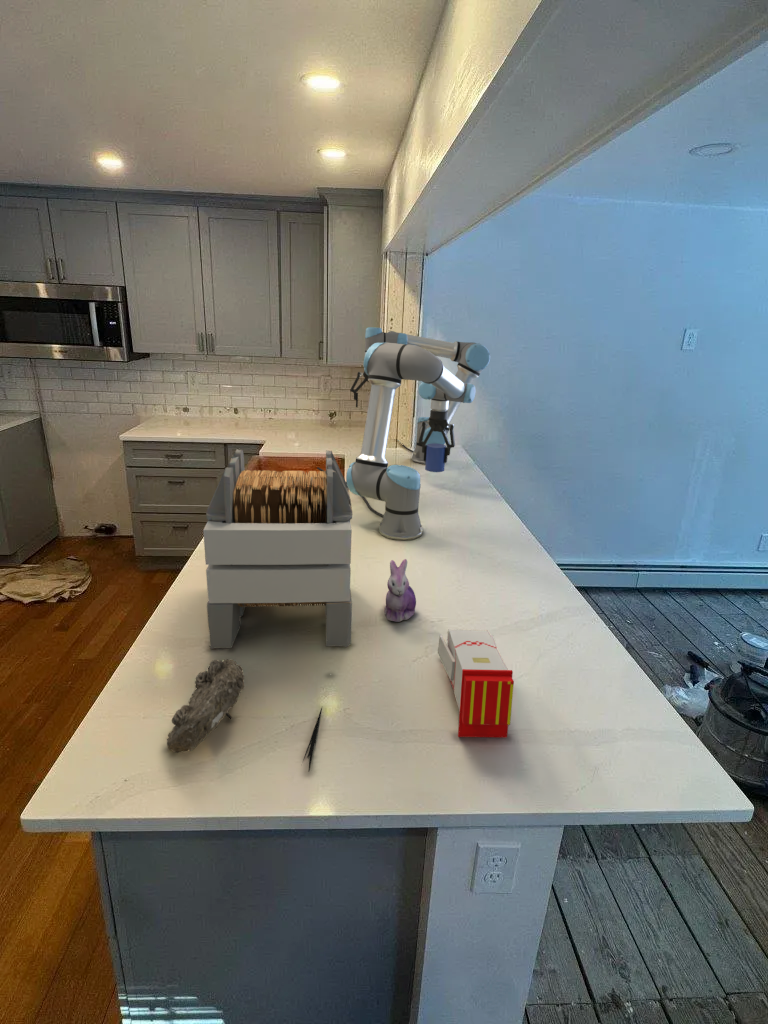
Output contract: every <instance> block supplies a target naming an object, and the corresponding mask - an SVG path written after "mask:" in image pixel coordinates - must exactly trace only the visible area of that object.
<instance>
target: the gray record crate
mask: <svg viewBox="0 0 768 1024" xmlns="http://www.w3.org/2000/svg"><path fill="white" fill-rule="evenodd" d="M307 471H308V470H307ZM307 471H305V470H282V471H276V470H264V469H263V470H262V469H261V470H256V469H255V470H254V469H253V470H249V469H245V454H244V449H238V448H237V449H235V451H234V454H233V456H231V458H230V460H229V462H228V465H227V467H225V468H224V471H223V473H222V475H221V477H220V480H219V481H218V484H217V487H216V489H215V491H214V493H213V496H212V498H211V500H210V502H209V504H208V506H207V509H206V512H205V516H206V520H207V521H206V524H205V526H204V527H203V530H202V531H203V545H204V559H205V561H204V562H205V565H206V566H207V567H206V570H205V574H206V575H205V576H206V588H207V589H206V590H207V603H206V611H207V612H206V614H207V626H208V634H209V645H208V647H209V648H210V649H212V650H216V649H232V648H233V645H234V643H235V640H236V638H237V635H238V633H239V631H240V628H241V625H242V623H241V617H244V614H245V613H244V612H245V610H246V607H248V608H249V607H252V608H253V607H254V608H255V607H258V608H259V607H260V608H261V607H300V606H301V607H307V606H309V607H310V606H312V607H315V606H316V607H317V606H319V607H320V606H324V607H325V608H324V609H325V647H345V648H347V647H349V646H350V645H352V620H353V617H352V616H353V614H352V613H353V600H352V592H351V571H352V570H351V564H352V563H351V562H352V561H351V560H352V533H353V530H352V529H353V528H352V523H351V520H352V519H353V508H352V507H353V506H352V501H351V495H350V490H349V488H348V486H347V484H346V482H347V481H346V480H345V478H344V475H343V473H342V470H341V469H340V467H339V463H338V462H337V460H336V457H335V456H334V453H333V451H332V450H325V470H324V472H323V471H320V470H319V471H317V470H309V471H308V472H307ZM325 471H326V472H325Z"/></svg>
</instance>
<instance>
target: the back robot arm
mask: <svg viewBox="0 0 768 1024" xmlns="http://www.w3.org/2000/svg"><path fill="white" fill-rule="evenodd" d="M384 342H387V343H397V344H406V345H416V346H419V347H421V348H423V349H425V350H427V351H429V352H431V353H432V354H434V355H435V356H436V357H438V358H439V357H440V358H445V359H450V360H451V362H455V363H457V365H456V366H457V372H456V373H455V374H454V375H455V376H456V377H457V378H458V379H459V380H461V381H462V382H463V383H469V384H473V381H474V379H476V378H479V377H480V375H481V373H482V372H483V370H485V369H486V367H488V365H490V361H491V353H490V351H489V349H488V347H487V346H485V345H484V344H481V343H480V342H479V343H477V342H474V341H473V342H465V341H458V340H455V341H454V342H451V341H445V340H441V339H434V338H430V337H424V336H418V335H414V334H409V333H406V332H405V333H404V332H397V331H394V330H389V331H388V332H383V329H382V327H375V326H373V327H372V326H368V327H366V328H365V335H364V355H365V354H366V352H367V350H368V349H369V347H371V345H373V344H374V343H384ZM364 368H365V367H364V366H363V369H364ZM362 376H363V377H364V379H363V380H362V381H361V383H360V384H359V385H358V386H357V387H356V385H357V383H358V382H359V379H360V378H361V377H362ZM366 383H370V382H369V381H368V375H367V374H366V373H365V371H364V370H363V372H361V371H357V374H356V378H355V380H354V381H353V384H352V385H351V387H350V389H349V391H350V392H352V393H353V400H354V401H355V408H358V406H359V392H358V391H359V390H361V388H362V387H363V386H364V385H365V384H366ZM355 387H356V388H355ZM461 404H462V402H455V401H449V405H448V410H447V411H448V417H447V422H448V423H449V424H451V421H452V420H453V418H454V416H455V414H456V412H457V410H458V409H459V407H460V405H461ZM429 420H430V416H420V417H418V418H417V422H416V424H417V427H416V441H415V442H416V443H415V448H414V449H413V450H412V449H410V448H409V447H407V446H406V445H404V444H403V445H402V444H401V446H402V447H403V448H404V449H406V450H407V451H409V452H411V453H412V455H411V462H413V463H416V464H422V465H425V463H426V461H424V453H422V445H421V444H419V443H418V442H419V438H420V434H421V431H422V423H423V422H424V421H425V422H429ZM430 429H431V427H430V426H429V424H428V426H427V427H426V430H425V433H424V437H423V442H424V440H425V438H426V437H427V435H428V433H429V431H430ZM445 431H446V434H447V435H448V434H449V433H450V429H449V428H448V426H447V427H446V428H445ZM432 443H436V444H443V445H446V443H445V440H444V437H443V435H442V433H441V432H438V431H436V432H434V431H433V433H432V434H431V436H430V438H429V440H428V441H427V443H426V445H427V444H432Z"/></svg>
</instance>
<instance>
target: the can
mask: <svg viewBox="0 0 768 1024" xmlns="http://www.w3.org/2000/svg"><path fill="white" fill-rule="evenodd" d="M446 447H447V445H446V444H444V445H443V444H436V443H432V444H427V449H426V463H425V464H424V470H425V471H427V472H430V473H442V472H445V466H446V463H444V460H445V448H446Z"/></svg>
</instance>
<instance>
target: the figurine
mask: <svg viewBox="0 0 768 1024" xmlns="http://www.w3.org/2000/svg"><path fill="white" fill-rule="evenodd" d="M407 567H408V559H406V558H404V559H403V560H402V561H401V563H400V565H399V566H398V565H397V563H396V562H395V561H394V560H393V559H391V560H390V561H389V570H390V576H389V578H388V579H387V589H388V591H387V592H386V594H385V595H386V596H385V607H384V615H385V616H386V620H387V621H391V622H395V623H400V622H402V621H406V620H409V619H410V618H411V617H413V616H414V615H415V610H416V606H417V597H416V593H415V591H414V590H413V587H411V586H410V582H409V579H408V577H407V574H406V571H407Z"/></svg>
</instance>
